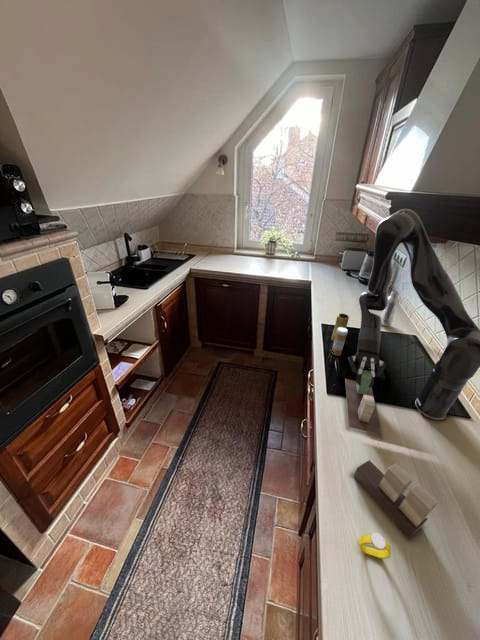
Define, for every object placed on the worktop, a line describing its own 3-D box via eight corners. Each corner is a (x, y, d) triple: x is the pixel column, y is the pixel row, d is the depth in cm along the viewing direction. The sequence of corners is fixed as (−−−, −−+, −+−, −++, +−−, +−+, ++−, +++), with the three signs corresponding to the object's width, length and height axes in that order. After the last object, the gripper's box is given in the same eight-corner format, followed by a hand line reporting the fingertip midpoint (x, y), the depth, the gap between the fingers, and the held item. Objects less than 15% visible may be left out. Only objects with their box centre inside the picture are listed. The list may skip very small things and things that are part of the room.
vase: (331, 335, 134) (337, 312, 127) (343, 338, 132) (349, 314, 125) (330, 341, 129) (336, 317, 122) (343, 344, 127) (350, 319, 120)
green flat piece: (357, 393, 95) (362, 377, 91) (356, 385, 99) (361, 369, 95) (365, 395, 95) (371, 379, 91) (364, 386, 98) (370, 371, 94)
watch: (384, 550, 57) (393, 538, 54) (387, 565, 55) (396, 554, 52) (356, 539, 59) (363, 527, 56) (357, 554, 56) (364, 542, 53)
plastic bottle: (388, 328, 141) (401, 296, 131) (376, 324, 145) (387, 292, 135) (392, 324, 145) (404, 292, 135) (379, 320, 149) (390, 288, 139)
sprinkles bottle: (333, 349, 123) (340, 325, 117) (342, 353, 121) (349, 329, 114) (329, 353, 120) (335, 329, 114) (338, 357, 118) (345, 333, 111)
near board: (344, 380, 105) (349, 363, 100) (370, 386, 102) (377, 368, 98) (348, 428, 85) (355, 410, 80) (380, 436, 82) (389, 418, 78)
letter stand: (365, 467, 73) (377, 441, 67) (421, 526, 61) (442, 501, 55) (353, 475, 71) (365, 450, 65) (408, 538, 59) (429, 514, 53)
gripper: (351, 335, 96) (346, 381, 91) (392, 342, 92) (389, 390, 88) (347, 339, 103) (342, 382, 98) (385, 346, 99) (381, 390, 95)
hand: (364, 386), depth 93 cm, fingers closed on green flat piece, 3 cm apart
